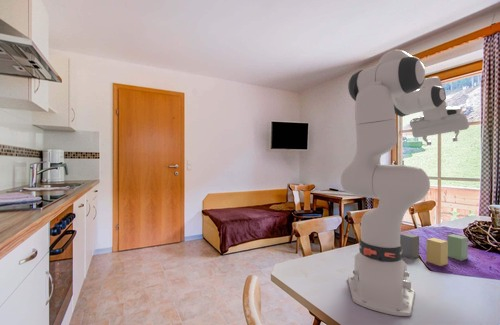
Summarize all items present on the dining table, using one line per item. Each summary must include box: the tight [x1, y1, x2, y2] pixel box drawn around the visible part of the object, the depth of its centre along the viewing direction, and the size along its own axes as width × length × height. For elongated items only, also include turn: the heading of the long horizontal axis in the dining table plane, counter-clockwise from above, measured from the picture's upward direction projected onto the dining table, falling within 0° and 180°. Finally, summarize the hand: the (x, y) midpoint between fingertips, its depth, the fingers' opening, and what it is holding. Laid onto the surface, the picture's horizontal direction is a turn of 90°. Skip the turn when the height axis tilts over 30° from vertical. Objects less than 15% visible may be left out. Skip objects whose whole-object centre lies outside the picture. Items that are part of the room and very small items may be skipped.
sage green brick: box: [446, 233, 469, 262], centre depth 102 cm, size 5×5×9 cm
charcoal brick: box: [400, 232, 420, 260], centre depth 103 cm, size 5×5×9 cm
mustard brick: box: [426, 237, 449, 267], centre depth 96 cm, size 5×5×9 cm
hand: (441, 143), depth 110 cm, fingers open, 8 cm apart
